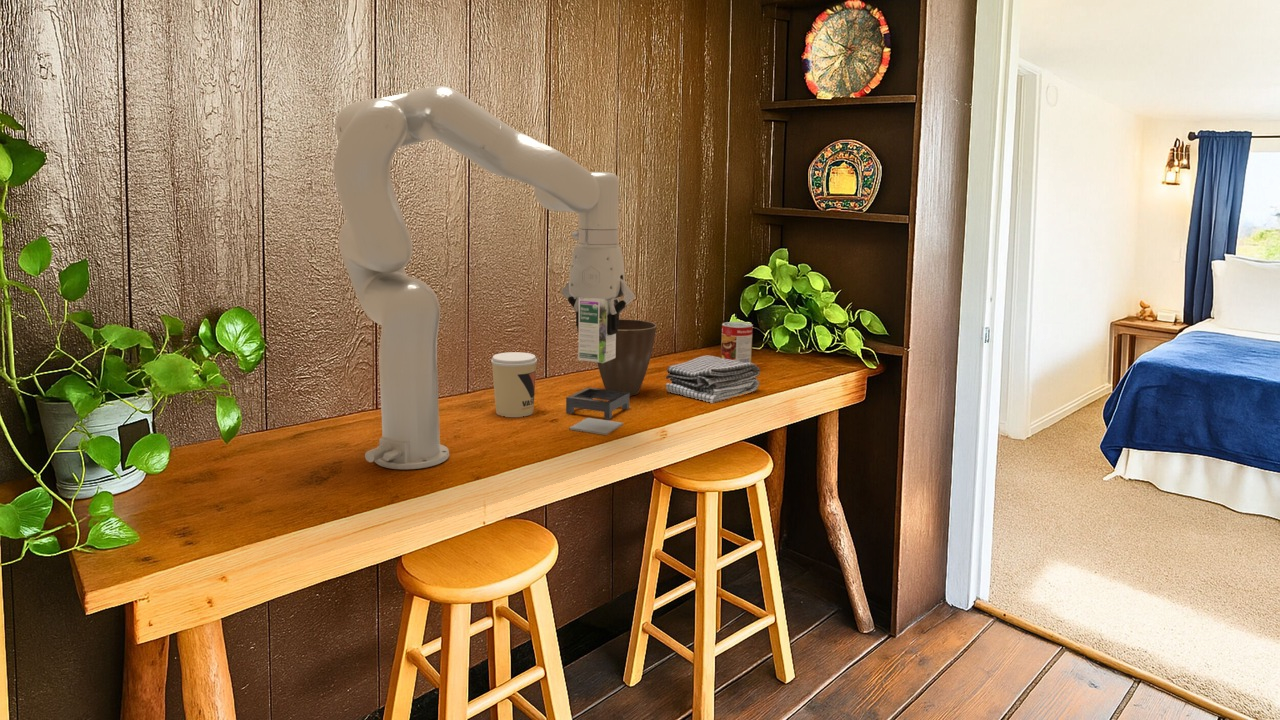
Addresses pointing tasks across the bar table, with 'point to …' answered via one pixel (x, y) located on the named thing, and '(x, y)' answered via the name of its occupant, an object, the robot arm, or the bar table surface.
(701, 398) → the towel
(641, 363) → the plant pot
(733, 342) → the canned food
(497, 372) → the coffee cup
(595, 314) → the syrup box
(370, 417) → the bar table surface
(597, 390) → the collar stand
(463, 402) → the bar table surface
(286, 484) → the bar table surface
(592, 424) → the slate mat
